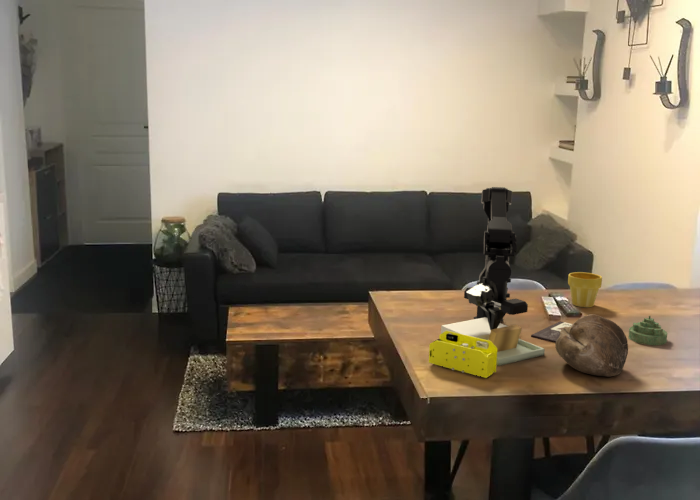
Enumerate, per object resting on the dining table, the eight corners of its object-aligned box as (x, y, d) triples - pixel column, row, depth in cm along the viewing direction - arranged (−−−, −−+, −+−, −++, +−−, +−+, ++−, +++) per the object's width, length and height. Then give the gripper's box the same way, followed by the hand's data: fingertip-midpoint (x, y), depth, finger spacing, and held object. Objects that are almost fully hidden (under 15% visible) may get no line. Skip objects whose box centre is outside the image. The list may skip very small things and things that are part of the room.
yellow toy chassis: (496, 374, 184) (498, 342, 183) (485, 381, 180) (487, 348, 178) (439, 359, 194) (441, 328, 192) (427, 366, 189) (429, 334, 188)
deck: (484, 330, 217) (485, 317, 217) (514, 342, 208) (515, 328, 207) (440, 339, 209) (441, 325, 208) (469, 352, 199) (470, 337, 198)
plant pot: (572, 298, 253) (575, 270, 251) (603, 304, 247) (606, 275, 245) (561, 305, 245) (563, 275, 243) (593, 311, 239) (596, 281, 237)
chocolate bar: (531, 334, 213) (560, 321, 226) (530, 338, 213) (559, 324, 227) (561, 342, 207) (588, 327, 221) (560, 345, 207) (588, 331, 221)
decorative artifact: (628, 332, 219) (628, 342, 210) (630, 309, 218) (630, 318, 209) (665, 336, 216) (667, 347, 207) (668, 313, 215) (669, 323, 205)
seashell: (575, 350, 177) (594, 298, 184) (534, 362, 192) (553, 314, 199) (627, 385, 180) (644, 333, 186) (582, 395, 194) (600, 346, 201)
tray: (514, 342, 208) (514, 336, 207) (544, 354, 198) (544, 348, 198) (469, 352, 199) (470, 346, 199) (498, 365, 190) (499, 359, 190)
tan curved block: (516, 324, 201) (521, 328, 200) (511, 343, 204) (516, 347, 202) (491, 329, 196) (496, 333, 195) (486, 349, 199) (491, 353, 197)
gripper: (450, 269, 203) (447, 325, 206) (498, 285, 187) (494, 346, 190) (481, 265, 208) (478, 320, 212) (531, 280, 193) (526, 339, 196)
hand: (493, 330), depth 202 cm, fingers closed
